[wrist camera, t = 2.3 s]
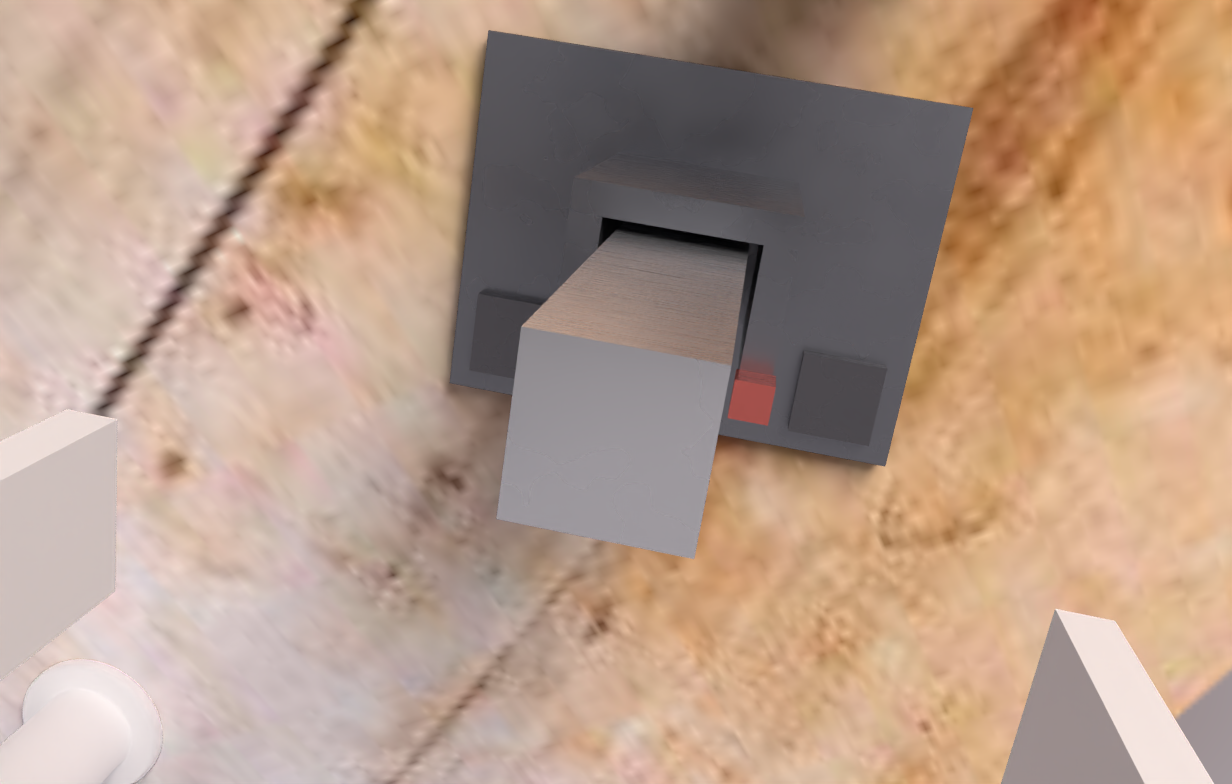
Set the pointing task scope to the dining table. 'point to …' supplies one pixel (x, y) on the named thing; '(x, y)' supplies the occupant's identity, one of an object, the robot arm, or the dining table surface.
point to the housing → (717, 221)
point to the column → (625, 391)
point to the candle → (83, 728)
